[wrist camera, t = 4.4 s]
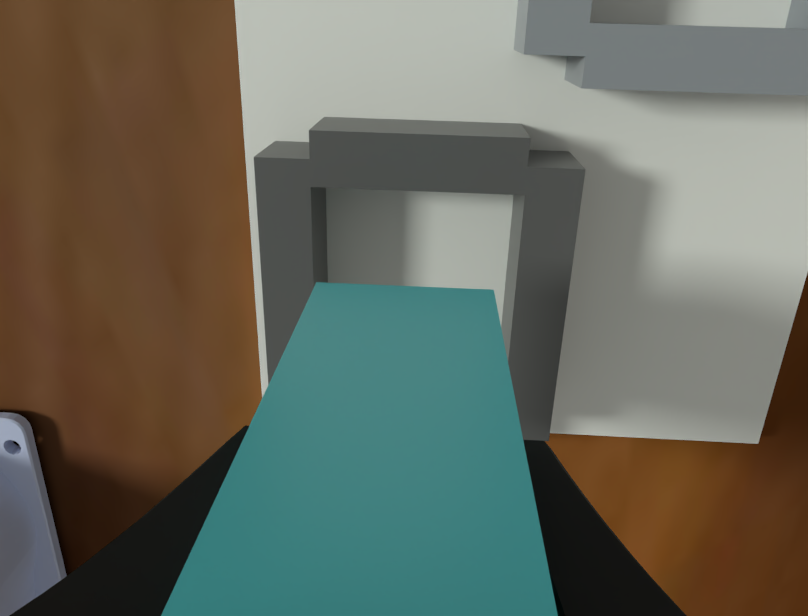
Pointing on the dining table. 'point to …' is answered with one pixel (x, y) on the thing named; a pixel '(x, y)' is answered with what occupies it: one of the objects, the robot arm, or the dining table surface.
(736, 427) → the panel
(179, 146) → the dining table surface
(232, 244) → the dining table surface
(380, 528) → the plug
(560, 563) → the robot arm
